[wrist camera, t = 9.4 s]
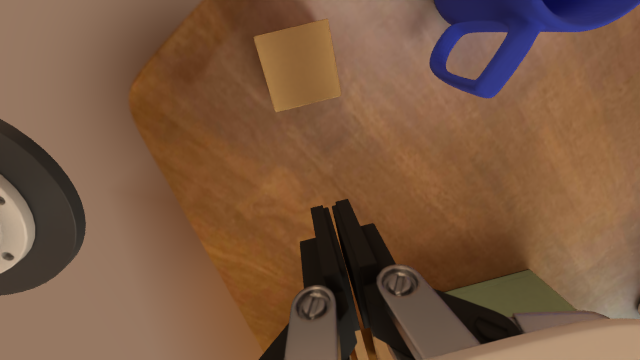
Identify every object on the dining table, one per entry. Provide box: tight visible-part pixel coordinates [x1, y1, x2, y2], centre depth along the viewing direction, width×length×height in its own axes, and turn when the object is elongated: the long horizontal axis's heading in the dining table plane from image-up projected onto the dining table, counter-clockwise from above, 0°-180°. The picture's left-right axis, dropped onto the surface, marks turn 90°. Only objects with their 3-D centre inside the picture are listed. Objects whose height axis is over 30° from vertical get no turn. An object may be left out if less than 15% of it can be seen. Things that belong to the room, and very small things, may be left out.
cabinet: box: [444, 270, 577, 317], centre depth 33 cm, size 15×12×9 cm
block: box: [254, 19, 341, 112], centre depth 19 cm, size 5×5×5 cm
